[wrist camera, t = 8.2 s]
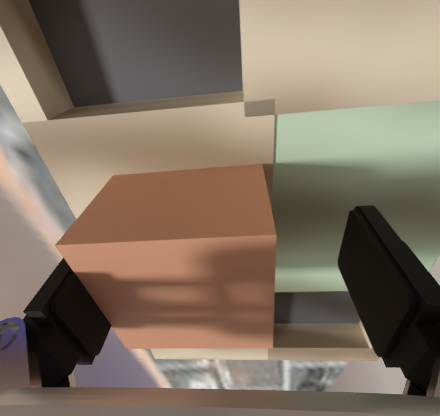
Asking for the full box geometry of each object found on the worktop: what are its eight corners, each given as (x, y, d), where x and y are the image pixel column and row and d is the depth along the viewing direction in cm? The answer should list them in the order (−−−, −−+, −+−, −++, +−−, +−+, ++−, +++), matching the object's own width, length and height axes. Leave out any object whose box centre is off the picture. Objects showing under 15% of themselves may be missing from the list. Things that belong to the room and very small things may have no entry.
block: (263, 268, 13) (272, 348, 10) (152, 271, 14) (126, 348, 10) (262, 163, 9) (276, 234, 6) (113, 175, 10) (55, 245, 7)
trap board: (365, 334, 20) (376, 361, 18) (161, 334, 22) (155, 358, 20) (755, -478, 4) (1087, -801, 3) (-111, -243, 6) (-243, -346, 4)
